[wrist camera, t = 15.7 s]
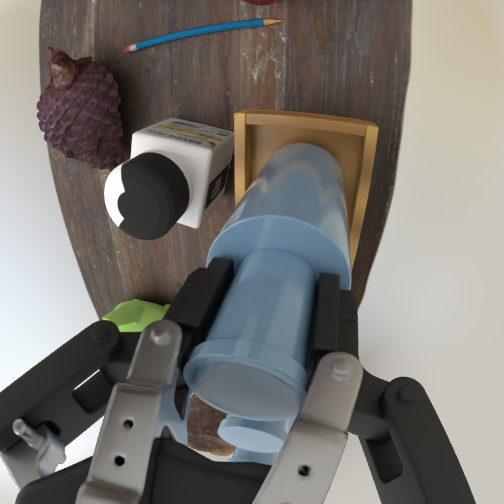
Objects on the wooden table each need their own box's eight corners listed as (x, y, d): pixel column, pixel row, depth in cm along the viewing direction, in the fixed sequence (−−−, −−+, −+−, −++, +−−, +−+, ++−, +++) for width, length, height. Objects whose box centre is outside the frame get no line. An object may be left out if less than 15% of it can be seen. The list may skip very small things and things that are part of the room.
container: (238, 132, 29) (183, 173, 19) (223, 197, 34) (173, 264, 23) (171, 116, 29) (92, 149, 19) (163, 178, 34) (95, 234, 24)
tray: (263, 99, 27) (233, 112, 18) (361, 109, 25) (378, 127, 17) (258, 294, 40) (238, 353, 32) (328, 304, 39) (323, 367, 30)
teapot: (109, 268, 45) (63, 321, 35) (181, 277, 42) (139, 344, 32) (144, 348, 56) (116, 397, 46) (205, 362, 53) (181, 419, 43)
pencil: (128, 46, 25) (124, 46, 25) (283, 17, 21) (282, 16, 21) (128, 52, 26) (125, 52, 25) (283, 25, 22) (282, 24, 21)
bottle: (261, 214, 23) (169, 410, 10) (262, 138, 19) (123, 299, 7) (338, 224, 22) (324, 443, 9) (349, 148, 18) (380, 348, 6)
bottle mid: (253, 236, 26) (176, 409, 13) (321, 225, 23) (297, 420, 11) (272, 289, 28) (222, 453, 15) (333, 282, 26) (316, 461, 13)
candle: (231, 303, 43) (179, 429, 26) (278, 324, 43) (244, 453, 27) (217, 332, 47) (170, 443, 31) (258, 350, 47) (224, 463, 31)
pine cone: (167, 146, 31) (99, 204, 28) (130, 145, 38) (75, 192, 34) (99, 14, 19) (11, 64, 15) (73, 42, 25) (7, 86, 22)
